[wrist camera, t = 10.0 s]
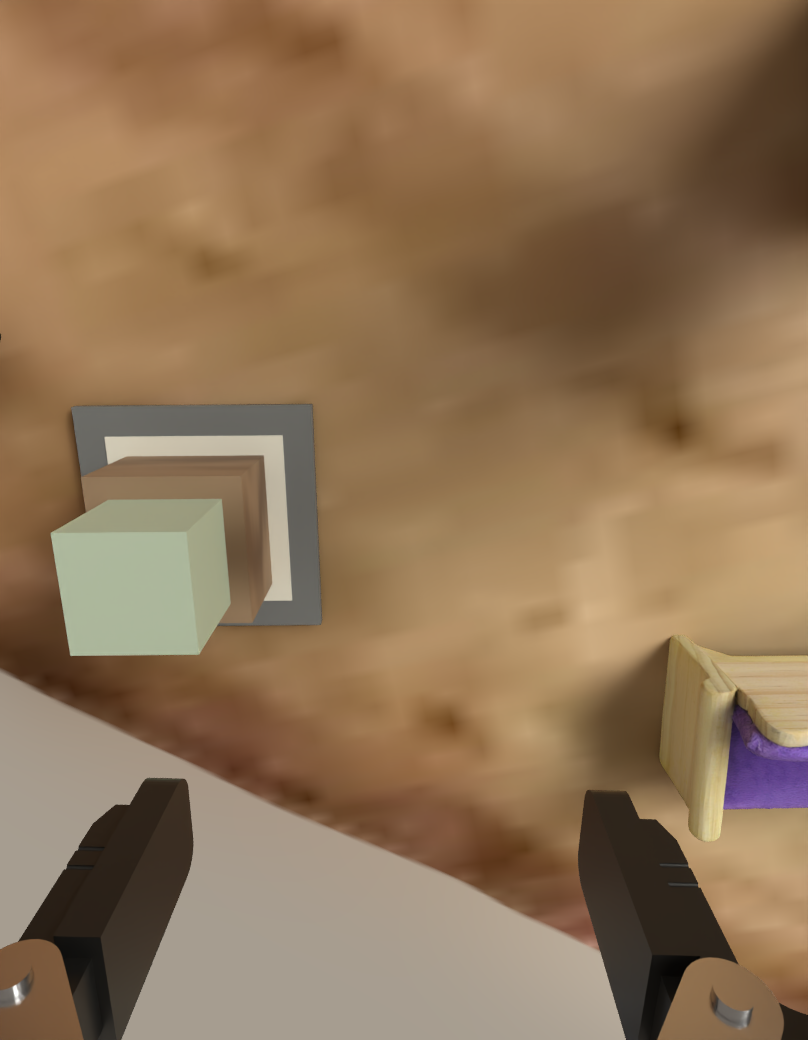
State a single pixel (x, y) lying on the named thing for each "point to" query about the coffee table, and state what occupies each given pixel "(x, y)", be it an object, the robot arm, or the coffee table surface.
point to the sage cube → (143, 576)
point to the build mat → (232, 433)
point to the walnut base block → (204, 479)
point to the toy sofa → (734, 732)
